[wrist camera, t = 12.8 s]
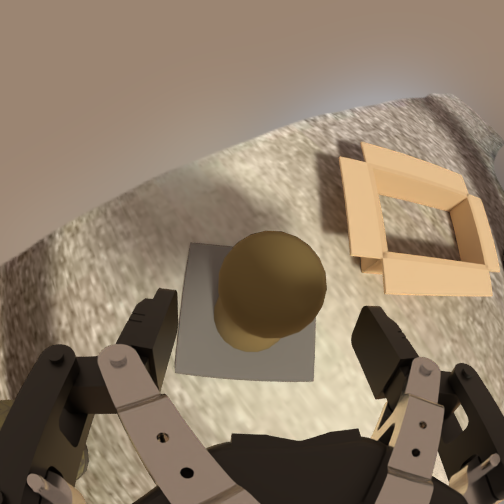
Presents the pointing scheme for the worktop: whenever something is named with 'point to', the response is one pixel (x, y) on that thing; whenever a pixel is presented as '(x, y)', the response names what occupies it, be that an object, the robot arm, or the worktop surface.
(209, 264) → the mat
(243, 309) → the cork
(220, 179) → the worktop surface
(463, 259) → the carton
